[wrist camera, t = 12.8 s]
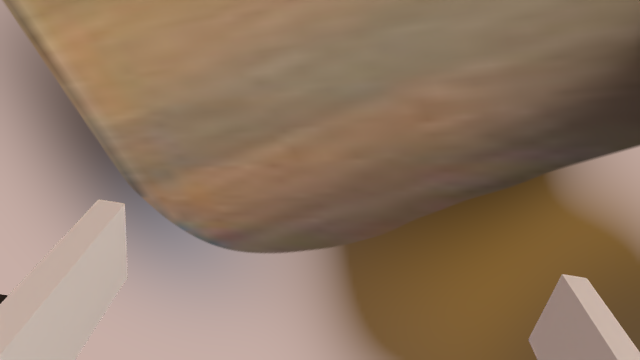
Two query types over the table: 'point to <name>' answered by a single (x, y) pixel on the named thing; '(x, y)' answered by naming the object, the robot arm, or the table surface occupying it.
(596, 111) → the table surface
